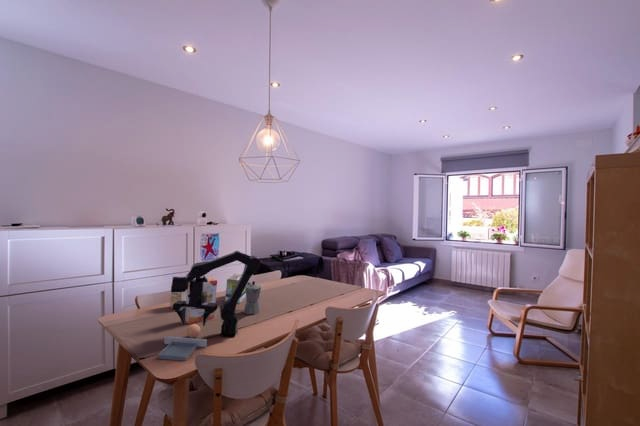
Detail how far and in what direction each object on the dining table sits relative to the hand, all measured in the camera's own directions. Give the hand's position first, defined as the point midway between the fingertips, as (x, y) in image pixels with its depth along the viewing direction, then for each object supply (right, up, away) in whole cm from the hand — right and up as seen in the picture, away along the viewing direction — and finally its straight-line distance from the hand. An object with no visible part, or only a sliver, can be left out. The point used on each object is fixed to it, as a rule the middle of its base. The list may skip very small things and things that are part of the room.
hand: (194, 324), depth 136 cm
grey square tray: (-1, -6, -14) cm, 15 cm away
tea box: (+3, -5, +56) cm, 56 cm away
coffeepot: (+17, -6, +37) cm, 41 cm away
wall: (-1, -6, -7) cm, 10 cm away
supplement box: (-24, -3, +34) cm, 42 cm away
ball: (-1, -6, 0) cm, 6 cm away
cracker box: (-6, -5, +20) cm, 21 cm away
